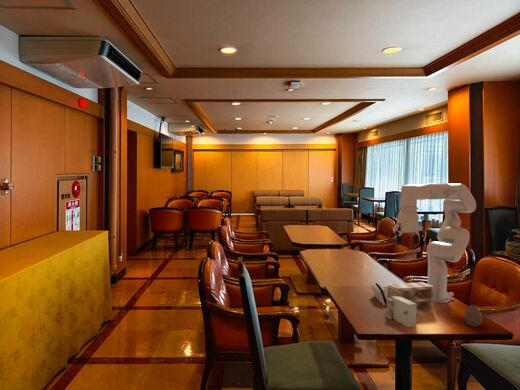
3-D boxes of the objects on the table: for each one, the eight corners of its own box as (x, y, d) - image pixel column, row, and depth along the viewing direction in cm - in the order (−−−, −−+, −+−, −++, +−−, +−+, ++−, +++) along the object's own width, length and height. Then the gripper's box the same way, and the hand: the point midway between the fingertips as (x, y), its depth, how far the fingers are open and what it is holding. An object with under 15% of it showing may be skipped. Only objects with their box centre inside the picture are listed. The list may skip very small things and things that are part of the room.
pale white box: (398, 317, 178) (399, 296, 177) (415, 326, 166) (416, 304, 166) (389, 318, 176) (390, 296, 176) (406, 327, 165) (407, 304, 164)
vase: (481, 329, 165) (482, 309, 164) (463, 325, 168) (464, 306, 168) (482, 324, 170) (482, 305, 170) (464, 321, 174) (465, 302, 174)
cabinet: (421, 307, 193) (422, 282, 192) (437, 315, 182) (438, 288, 181) (376, 311, 185) (376, 284, 185) (390, 319, 174) (391, 291, 174)
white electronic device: (393, 305, 195) (386, 287, 195) (384, 308, 195) (378, 289, 195) (383, 296, 212) (378, 279, 212) (375, 298, 212) (369, 281, 212)
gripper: (417, 209, 197) (416, 242, 197) (389, 209, 192) (387, 243, 193) (428, 210, 190) (427, 244, 190) (398, 210, 185) (397, 245, 185)
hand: (407, 243), depth 191 cm, fingers open, 9 cm apart
